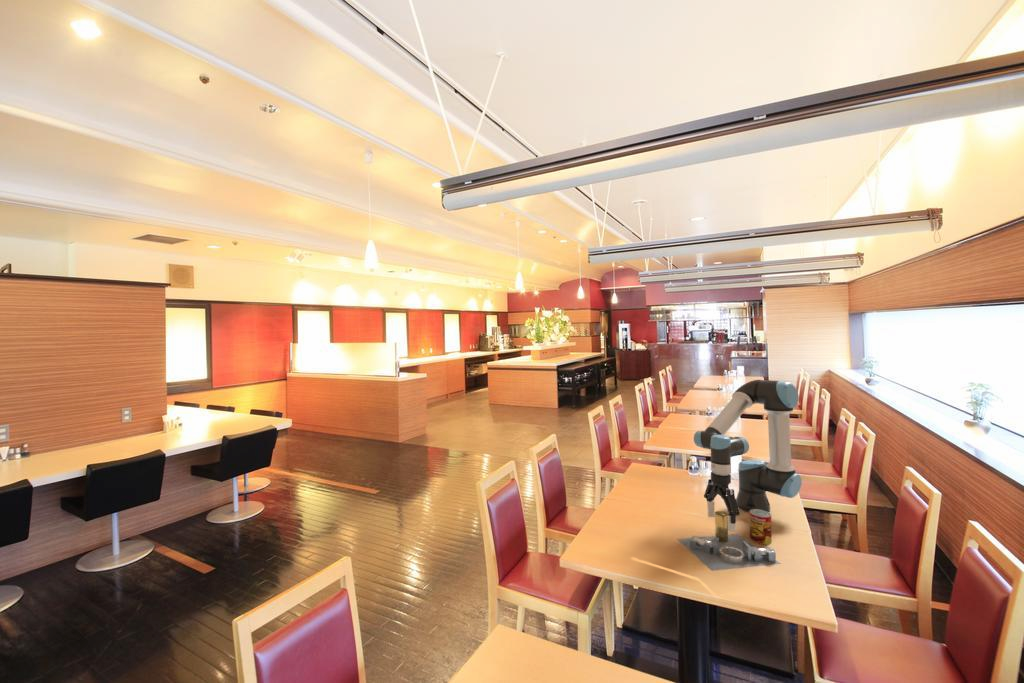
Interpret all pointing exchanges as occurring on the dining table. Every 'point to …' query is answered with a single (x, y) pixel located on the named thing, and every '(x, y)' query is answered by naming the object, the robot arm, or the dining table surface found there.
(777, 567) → the dining table surface
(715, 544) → the shaft
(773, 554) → the shaft
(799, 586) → the dining table surface
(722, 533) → the cylinder
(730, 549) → the socket
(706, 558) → the base board
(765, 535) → the canned food
